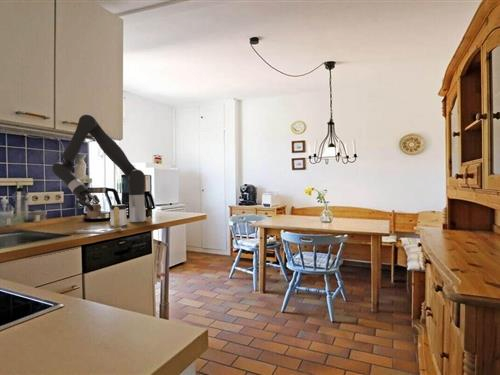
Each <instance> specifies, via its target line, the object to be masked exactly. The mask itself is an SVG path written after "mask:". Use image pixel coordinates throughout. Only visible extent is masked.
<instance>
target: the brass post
mask: <svg viewBox="0 0 500 375" xmlns="http://www.w3.org/2000/svg"><path fill="white" fill-rule="evenodd" d="M111 229H114V231H120V230H122V227H121V226H120V222H119V208H118V207H115V208H114V226H113V227H112V228H111Z"/></svg>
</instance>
